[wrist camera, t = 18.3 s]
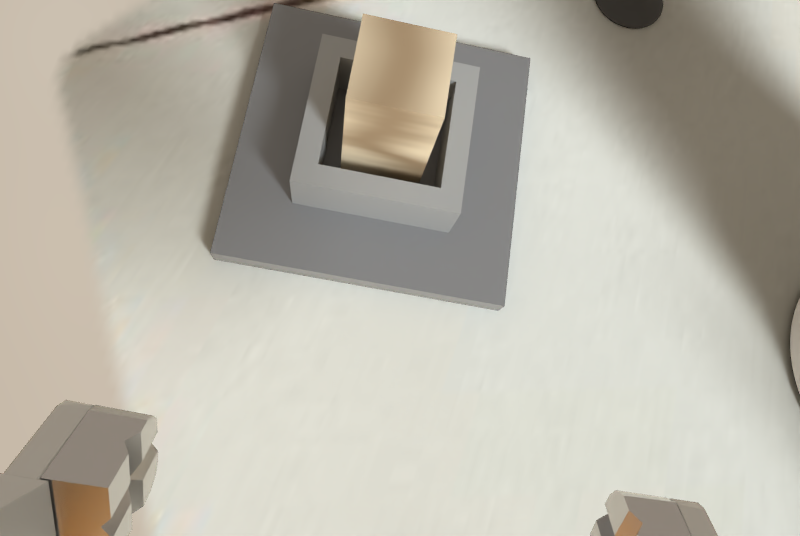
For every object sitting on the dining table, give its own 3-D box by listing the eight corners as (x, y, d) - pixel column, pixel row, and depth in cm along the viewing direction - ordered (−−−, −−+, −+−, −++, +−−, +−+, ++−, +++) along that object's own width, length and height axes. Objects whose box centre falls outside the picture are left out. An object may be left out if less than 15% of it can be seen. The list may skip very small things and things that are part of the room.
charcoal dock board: (524, 69, 38) (547, 26, 34) (498, 310, 34) (522, 293, 30) (275, 16, 37) (270, -35, 33) (213, 259, 33) (199, 234, 29)
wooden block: (427, 121, 35) (457, 34, 28) (416, 189, 34) (444, 117, 26) (353, 106, 35) (363, 13, 27) (339, 174, 34) (345, 97, 26)
